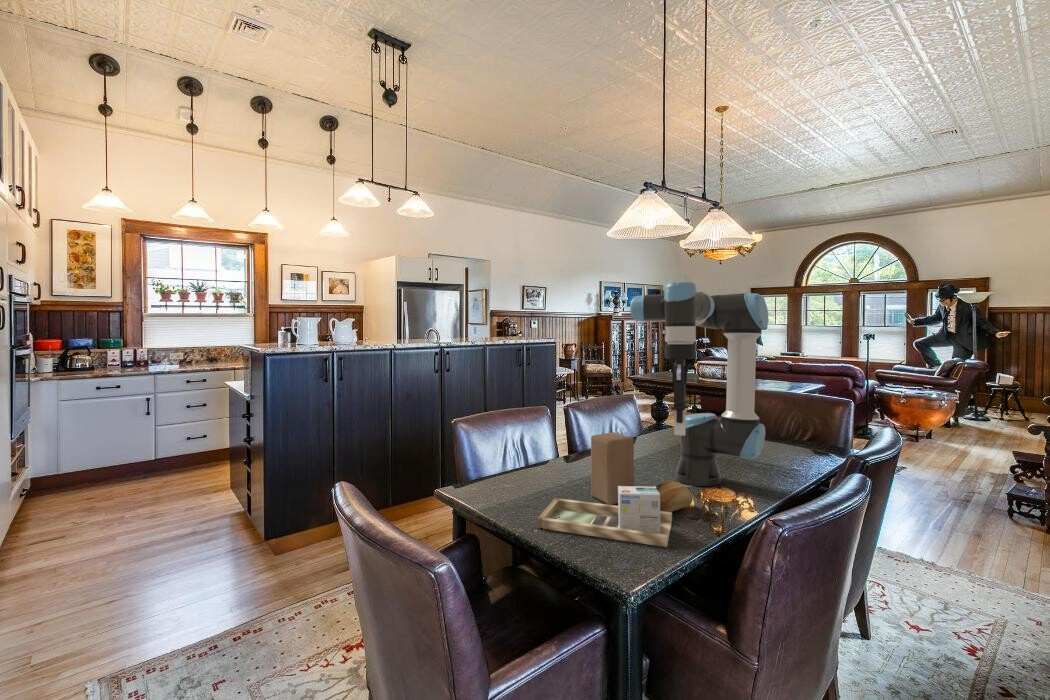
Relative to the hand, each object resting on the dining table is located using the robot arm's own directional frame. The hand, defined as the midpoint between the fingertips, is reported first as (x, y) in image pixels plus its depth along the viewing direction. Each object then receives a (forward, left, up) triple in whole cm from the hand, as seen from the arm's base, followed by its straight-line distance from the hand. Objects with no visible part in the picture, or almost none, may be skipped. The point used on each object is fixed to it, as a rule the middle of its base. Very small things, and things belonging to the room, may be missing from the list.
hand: (679, 434), depth 123 cm
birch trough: (+19, 0, -26) cm, 33 cm away
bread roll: (+3, -18, -27) cm, 32 cm away
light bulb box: (+10, 0, -27) cm, 29 cm away
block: (+21, -20, -27) cm, 40 cm away
